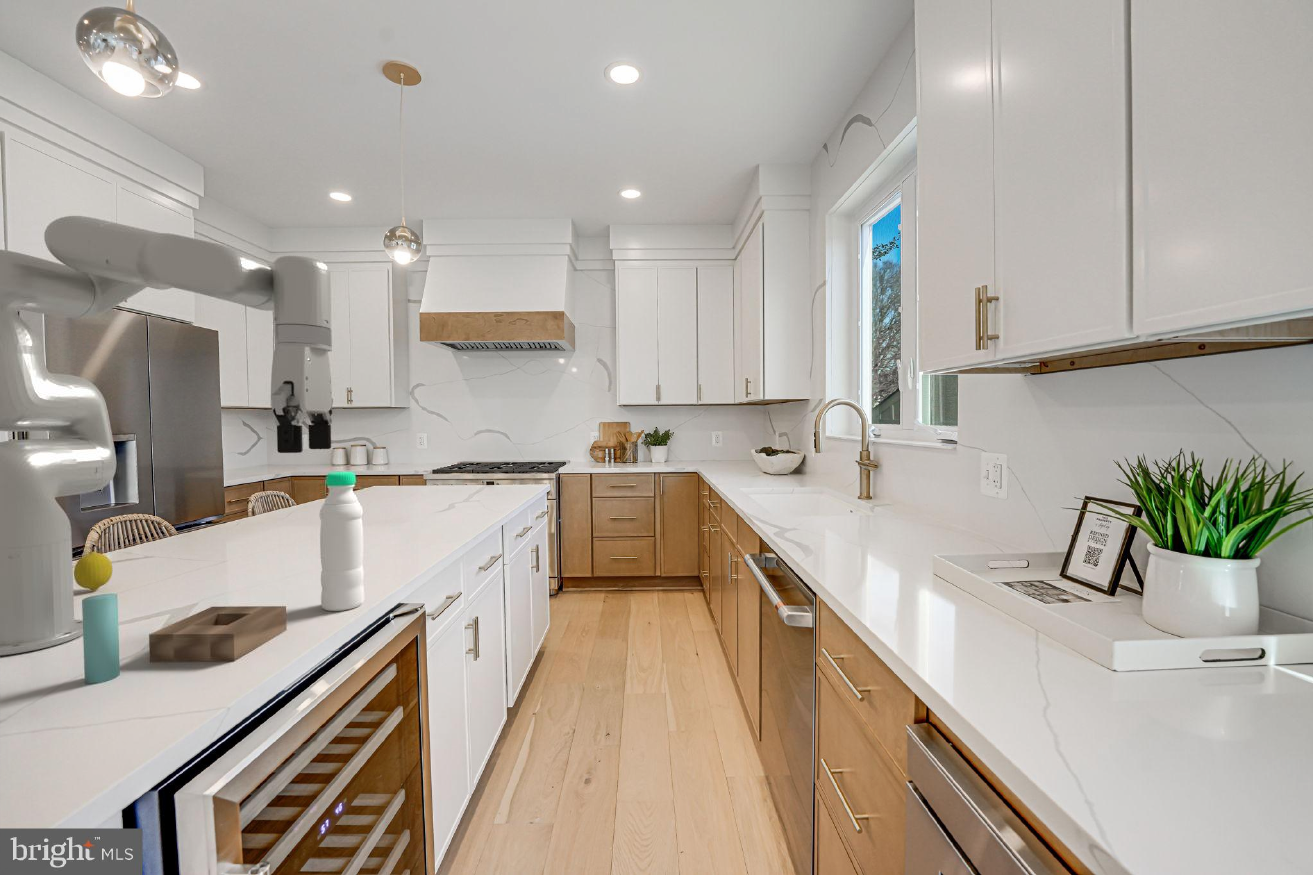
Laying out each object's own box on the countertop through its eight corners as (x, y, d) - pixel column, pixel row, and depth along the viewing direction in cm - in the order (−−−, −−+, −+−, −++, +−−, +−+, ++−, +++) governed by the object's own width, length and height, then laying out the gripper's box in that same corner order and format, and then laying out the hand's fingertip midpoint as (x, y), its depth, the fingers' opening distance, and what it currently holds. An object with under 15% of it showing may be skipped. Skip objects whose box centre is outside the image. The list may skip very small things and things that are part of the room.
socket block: (149, 661, 82) (149, 634, 82) (212, 630, 94) (212, 606, 94) (234, 661, 82) (233, 633, 82) (286, 629, 94) (286, 606, 94)
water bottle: (345, 613, 102) (343, 475, 101) (311, 610, 103) (309, 474, 102) (372, 601, 109) (370, 471, 108) (340, 598, 110) (338, 470, 109)
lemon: (117, 589, 116) (115, 550, 115) (79, 596, 111) (77, 556, 111) (108, 585, 119) (106, 547, 118) (70, 592, 114) (69, 552, 114)
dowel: (77, 683, 75) (74, 601, 75) (101, 672, 78) (99, 593, 78) (103, 683, 75) (100, 601, 75) (126, 672, 78) (124, 593, 78)
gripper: (304, 346, 96) (306, 448, 96) (244, 331, 79) (247, 454, 79) (351, 347, 97) (353, 447, 97) (302, 332, 80) (305, 454, 80)
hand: (306, 450), depth 88 cm, fingers open, 9 cm apart
